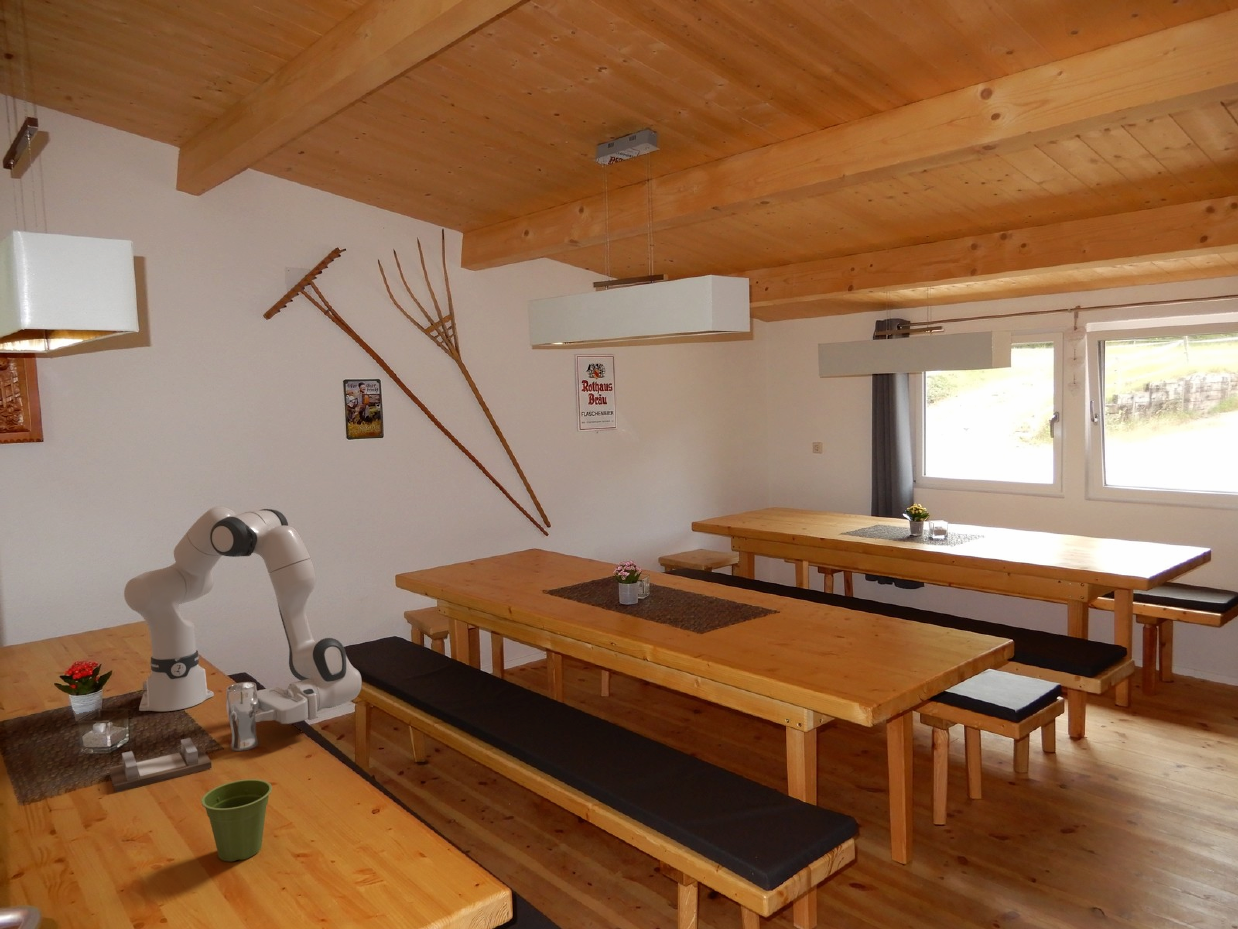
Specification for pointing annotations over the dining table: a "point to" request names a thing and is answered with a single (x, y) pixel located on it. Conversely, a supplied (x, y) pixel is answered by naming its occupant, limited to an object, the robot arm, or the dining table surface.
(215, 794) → the plant pot
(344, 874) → the dining table surface
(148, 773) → the rail board
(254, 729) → the beer glass
